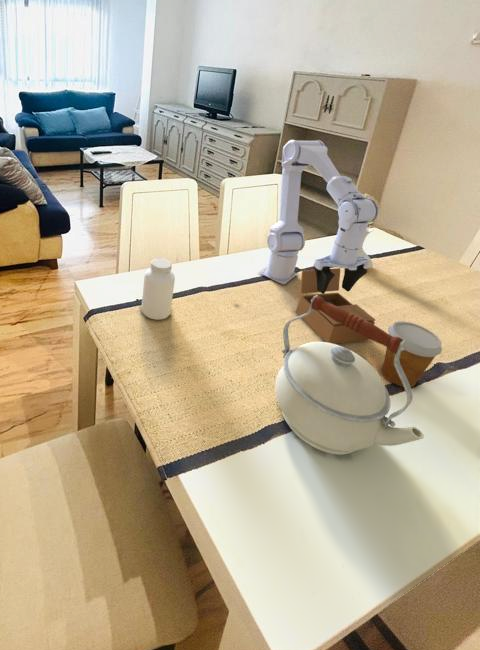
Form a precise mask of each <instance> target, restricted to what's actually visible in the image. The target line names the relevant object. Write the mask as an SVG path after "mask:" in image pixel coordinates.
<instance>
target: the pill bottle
mask: <svg viewBox="0 0 480 650" xmlns="http://www.w3.org/2000/svg"><path fill="white" fill-rule="evenodd" d="M172 266H173V265H172V262H171V261H170V260H168V259H166V258H162V257H161V258H160V257H158V258H157V257H156V258H154V259H152V260H151V262H150V267H149V268H148V269H146V271H145V272H144V275H143V285H142V286H143V287H142V297H141V298H142V299H141V313H142V314H143V315H144V316H145V317H147V318H148V319H151V320H157V321H160V320H165V319H167V318H168V317H169V316H170V314H171V312H172V306H173V305H172V304H173V295H174V289H175V281H176V278H175V274H174V272H173V271H172V268H173V267H172Z"/></svg>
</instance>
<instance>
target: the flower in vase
mask: <svg viewBox="0 0 480 650" xmlns="http://www.w3.org/2000/svg"><path fill="white" fill-rule="evenodd" d="M361 194H362V195H363V196H365V197H366V198H370V199H373V200H374V201H375V203H376V204H377V207H378V213H380V211H381V206H380V205H381V203H380V202H378V199H375V196H373V195H372V196H371V195H370V194H368V193H364V194H363V193H361ZM375 221H376V220H374V221H372V222H367V223H368V225H371V224H373V223H375ZM372 232H373V229H372V228H371V227H369V226H367V230H366V233H365V236H364V239H363V242H362V245H361V248H360V251H359V254H358V257H365V258H367V259H368V260H369V263H368V266H367V267H363V268H365V269H366V270H368V269H370V268H372V267H373V265H374V263H373V260H372V259H371V257H370V256H369V255H368V254H367V253H366V252H365V250H364V249H363V245H364V242H365V240H366V238H367V237H368V235H369V234H370V233H372Z"/></svg>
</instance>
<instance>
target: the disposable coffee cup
mask: <svg viewBox="0 0 480 650" xmlns="http://www.w3.org/2000/svg"><path fill="white" fill-rule="evenodd" d="M387 333H388V334H389V335H391V336H393V337H400V338H401V339H402V340H405V344H404V348H405V349H404V350H403V351H401V354H400V357H399V361H400V364H401V367H402V369H403V371H404V373H405V375H406V377H407V380H408V382H409V384H410V387H411V388H414V387H415V385H416V384H417V382H418V381H419V380H420V378H421V377H422V376H423V374H424V373H425V371H426V370H427V369H428V367H430V364H432V362H433V360H434V359H435V358H436V357H437V356H438V355H440V354H441V353H442V351H443V348H442V341H441V339H440V338H439V336H438V335H436V334H435V333H434V332H433V331H431V330H429V329H428V328H426V327H424V326H422V325H419V324H417V323H414V322H411V321H402V320H399V321H395V322H394V323H392V325H390V326H389V327H388V329H387ZM395 355H396V353H392V352H390V351H389V349H388V348H387V347H385V354H384V358H383V363H382V366H381V367H382V368H381V373H382V375H383V376H384V378H386V379H387V380H388V381H389V382H391V383H393V384H394V385H396V386H399V387H402V388H404V386H403V383H402V381H401V379H400V377H399V375H398V373H397V370H396V368H395V365H394V358H395Z"/></svg>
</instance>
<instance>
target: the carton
mask: <svg viewBox="0 0 480 650" xmlns="http://www.w3.org/2000/svg"><path fill="white" fill-rule="evenodd" d="M316 295H318V296H320V297H322V298H323V299H324V301H325V302H326V301H330V302H332V303H333V304H334V305H335V306H338V307H340V308H343V309H345V310H346V311H348V312H349V313H352V314H354V315H355V316H358V317H359V318H362V319H363V320H364V321H367V322H370V323H372V324H373V325H375V324H376V322H375V321H376V318H374V317H373V316H372V315H370V314H369V312H367V311H365V310H364V309H363V308H361V306H359V305H358V304H353V303H351V302H350V301H349V300H348V299H347V298H345V297H344V296H343V295H342V294H341V293H339V292H329V293H327V292H325V293H324V294H322V293H314V294H302V295H299V299H298V303H297V306H296V310H295V313H296V314H297V315H298V316H300V315H303V314H306V313H308V311H309V308H310V305H311V300H312V299H313V297H314V296H316ZM321 313H322V314H323V315H324V316H325V317H326V318H325V317H324V316H323V315H322V314H321ZM301 319H302V320H303V321H304V323H306V324H307V325H308V326H309V327H310V328H311V329H312V330H313V331H314V332H315V333H316V334H317V335H318V336H319V337H320V338H321V339H322V341H323V342H327V343H332V344H336V345H338V344H345V343H354V342H363V341H369V340H370V339H368V338H366V337H364V336H362V335H361V334H359V333H358V332H355V331H353V330H351V329H349V327H346V326H344V325H343V324H340V323H338V322H337V321H335V320H333V319H332V318H330V317H329V316H328V315H326V314H325V313H323V312H322V311H320V310H313V311H312V312H311V313H310V314H309V315H307V316H305V317H302V318H301Z"/></svg>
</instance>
